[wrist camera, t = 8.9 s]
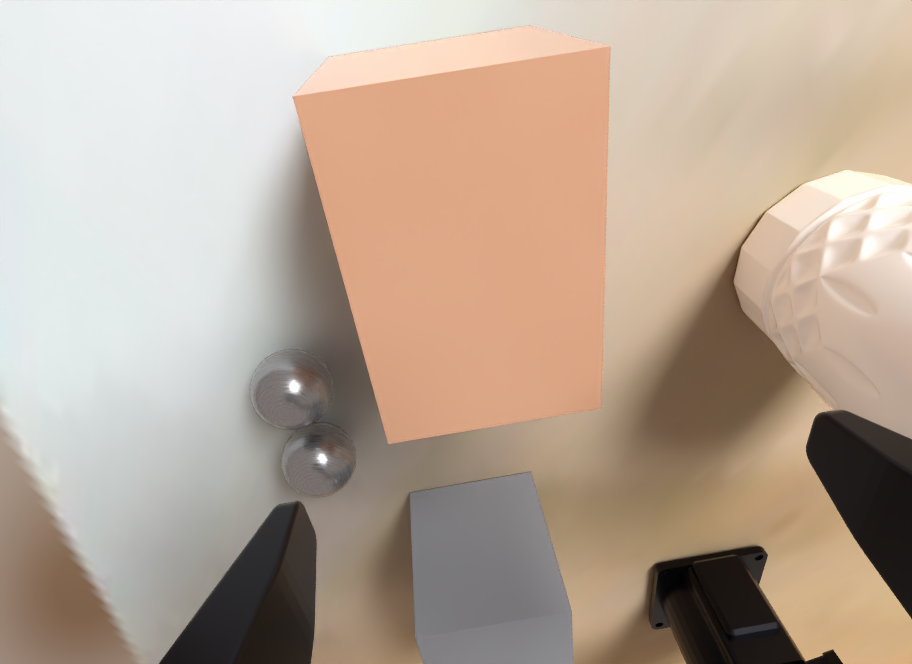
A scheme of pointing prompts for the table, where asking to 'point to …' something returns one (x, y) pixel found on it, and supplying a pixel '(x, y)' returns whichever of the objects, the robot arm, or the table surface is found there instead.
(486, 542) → the pale grey box
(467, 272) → the peach rectangular block
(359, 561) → the table surface
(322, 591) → the table surface
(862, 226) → the white cup
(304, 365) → the marble
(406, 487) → the table surface
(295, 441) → the marble
